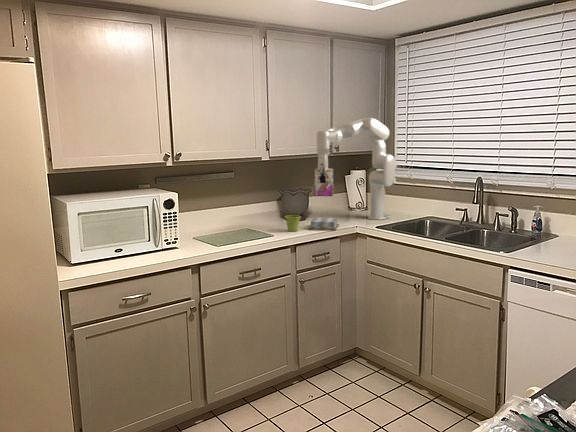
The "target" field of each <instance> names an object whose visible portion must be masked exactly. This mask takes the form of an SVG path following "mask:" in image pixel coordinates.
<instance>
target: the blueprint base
mask: <svg viewBox="0 0 576 432" xmlns="http://www.w3.org/2000/svg"><path fill="white" fill-rule="evenodd" d="M339 226H340V224H339V223H338V217H314V218H312V220H311V221H310V227H308V230H309V229H310V230H309V231H337V229H338V228H339Z"/></svg>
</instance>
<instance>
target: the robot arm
mask: <svg viewBox="0 0 576 432" xmlns="http://www.w3.org/2000/svg"><path fill="white" fill-rule="evenodd" d="M363 133H365V138H367V139H368V141H369V142H370V143H371V144H372V154H371V155H372V158H371V159H372V160H371V163H372V164H371V165H372V167H373V168H375V169H378V170H373V171H371V172H370V173H369V175H368V182H369V188H370V190H369V191H370V196H369V197H370V199H369V203H370V204H369V206H370V207H369V208H370V210H369V211H370V212H369V214H370V215H368V216H367V219H370V220H375V221H376V220H377V221H379V220H381V221H382V220H386V219H388V216H389V217H392V216H393V213H392V212H386V208H385V207H386V189H385V187H391V186H392V185H393V184H394V183H395V177H396V165H397V164H396V159H395V157H394V155H392V154H390V153H387V145H386V142H385V141H386V140H387V139H388V138H389V136H390V133H391V132H390V129H389V128H388V127H387V126H386V125H385V124H383V123H382V122H380V121H379V120H378V119H376V118H374V117H363V118H359V119H356V120H354V121H351V122H348V123H345V124H341V125H337V126H333V127H330V128H328V129H325V130H319V131H317V133H316V155H317V169H318V171H319V170H320V183H326V176H325V171H326V170H327V169H329V155H330V154H331V152H330V144H335V143H336V144H338V143H340V142H341V141H342V140H343V139H344V138H345V139H347V138H352V137H355V136H358V135H360V134H363ZM379 169H382V170H379ZM323 170H324V171H323Z"/></svg>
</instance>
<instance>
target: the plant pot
mask: <svg viewBox="0 0 576 432" xmlns="http://www.w3.org/2000/svg"><path fill="white" fill-rule="evenodd" d="M301 217H302V216H301V215H299V214H297V215H296V214H290V215H289V214H288V215H285V216H284V218H285V220H286V225H287V226H286V227H287V231H288V232H298V231H299V226H300V220H301Z"/></svg>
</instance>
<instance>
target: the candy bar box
mask: <svg viewBox="0 0 576 432" xmlns="http://www.w3.org/2000/svg"><path fill="white" fill-rule="evenodd" d="M323 171H324V170H323ZM313 173H314V175H313V176H314V178H313V179H314V182H313V183H314V189H313V190H314V197H333V196H334V169H333V168H328V169H327V170H326V171H325V176H326V183H320V170H319V171H318V168H314V172H313Z"/></svg>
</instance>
